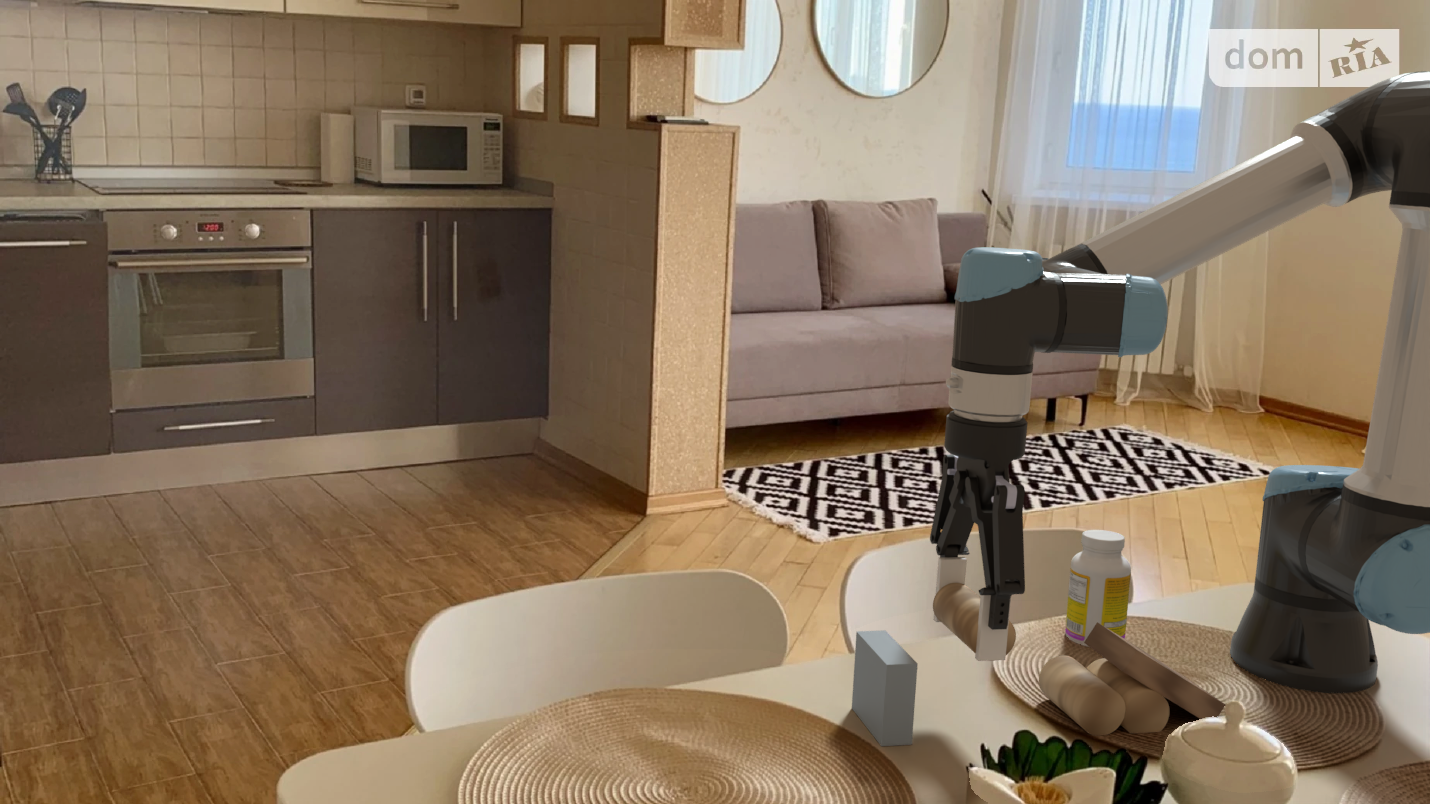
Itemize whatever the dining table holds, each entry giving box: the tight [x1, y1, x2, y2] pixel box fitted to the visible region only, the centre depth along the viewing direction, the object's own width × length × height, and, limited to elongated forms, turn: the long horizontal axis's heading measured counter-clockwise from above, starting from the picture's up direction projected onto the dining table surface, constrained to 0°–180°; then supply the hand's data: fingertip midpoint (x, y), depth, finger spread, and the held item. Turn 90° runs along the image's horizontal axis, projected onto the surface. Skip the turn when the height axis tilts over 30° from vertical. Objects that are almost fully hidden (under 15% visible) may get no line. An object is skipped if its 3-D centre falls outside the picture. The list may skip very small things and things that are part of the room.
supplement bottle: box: [1064, 529, 1132, 648], centre depth 160 cm, size 7×7×13 cm
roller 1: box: [932, 583, 1017, 662], centre depth 136 cm, size 10×4×4 cm, turn 12°
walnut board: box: [1084, 622, 1226, 720], centre depth 141 cm, size 12×8×2 cm
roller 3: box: [1086, 657, 1170, 734], centre depth 141 cm, size 9×5×5 cm
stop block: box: [851, 629, 918, 747], centre depth 135 cm, size 3×9×8 cm, turn 12°
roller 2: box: [1038, 655, 1126, 736], centre depth 140 cm, size 9×5×5 cm
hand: (968, 639), depth 136 cm, fingers closed on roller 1, 10 cm apart
